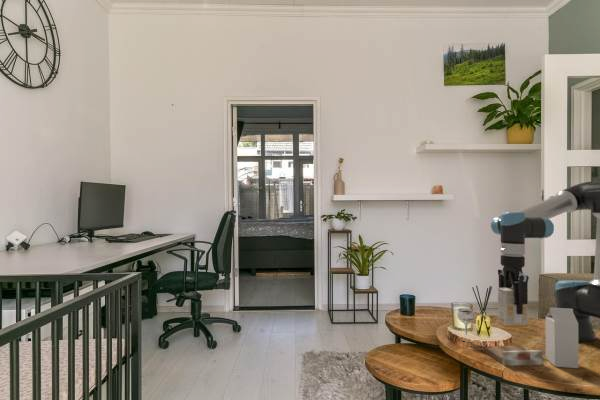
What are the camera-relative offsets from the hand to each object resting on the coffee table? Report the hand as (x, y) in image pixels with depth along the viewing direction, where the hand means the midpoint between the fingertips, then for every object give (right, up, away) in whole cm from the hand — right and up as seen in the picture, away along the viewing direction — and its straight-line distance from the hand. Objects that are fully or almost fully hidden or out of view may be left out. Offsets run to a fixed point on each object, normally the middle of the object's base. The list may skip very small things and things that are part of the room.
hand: (512, 320), depth 133 cm
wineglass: (-9, -14, +18) cm, 24 cm away
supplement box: (0, -2, 0) cm, 2 cm away
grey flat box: (0, -13, +1) cm, 13 cm away
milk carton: (+14, -14, -4) cm, 20 cm away
